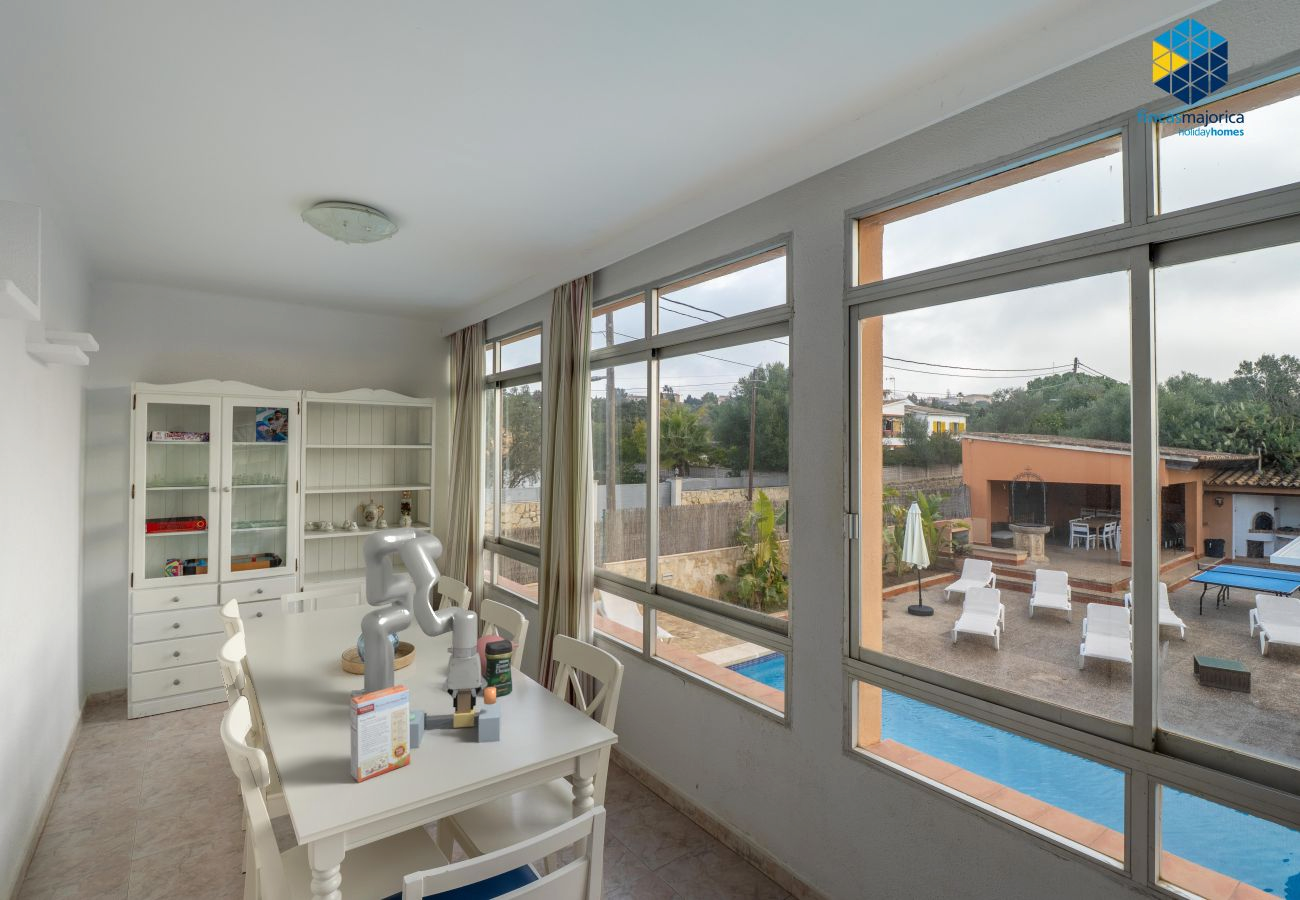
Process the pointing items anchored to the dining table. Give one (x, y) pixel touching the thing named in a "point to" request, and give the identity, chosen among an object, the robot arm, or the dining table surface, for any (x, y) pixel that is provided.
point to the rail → (444, 721)
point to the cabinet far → (490, 723)
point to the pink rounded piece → (481, 649)
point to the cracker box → (379, 732)
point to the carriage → (464, 710)
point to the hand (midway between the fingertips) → (464, 708)
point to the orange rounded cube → (489, 695)
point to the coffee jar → (499, 666)
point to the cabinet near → (416, 727)
